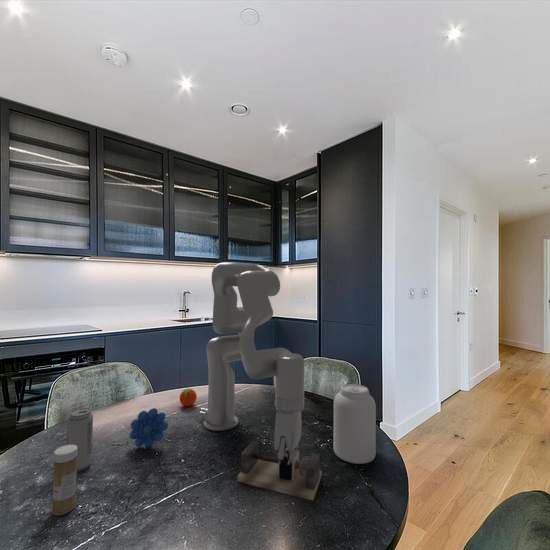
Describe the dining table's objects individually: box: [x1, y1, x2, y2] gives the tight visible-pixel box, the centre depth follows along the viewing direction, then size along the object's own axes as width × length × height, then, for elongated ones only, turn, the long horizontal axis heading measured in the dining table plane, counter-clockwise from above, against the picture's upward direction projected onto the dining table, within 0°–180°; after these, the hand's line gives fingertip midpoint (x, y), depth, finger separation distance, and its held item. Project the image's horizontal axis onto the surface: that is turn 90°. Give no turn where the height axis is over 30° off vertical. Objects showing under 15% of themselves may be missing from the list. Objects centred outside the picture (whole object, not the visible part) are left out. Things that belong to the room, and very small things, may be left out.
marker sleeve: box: [285, 448, 300, 481], centre depth 82 cm, size 4×5×5 cm
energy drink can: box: [66, 408, 94, 473], centre depth 87 cm, size 6×6×15 cm
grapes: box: [129, 407, 169, 448], centre depth 98 cm, size 12×7×12 cm, turn 93°
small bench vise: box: [237, 440, 323, 501], centre depth 82 cm, size 20×10×6 cm, turn 70°
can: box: [332, 383, 377, 465], centre depth 95 cm, size 12×12×20 cm
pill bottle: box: [51, 444, 78, 517], centre depth 71 cm, size 5×5×14 cm
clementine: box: [179, 388, 197, 407], centre depth 130 cm, size 8×7×7 cm
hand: (288, 471), depth 81 cm, fingers closed on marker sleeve, 5 cm apart
